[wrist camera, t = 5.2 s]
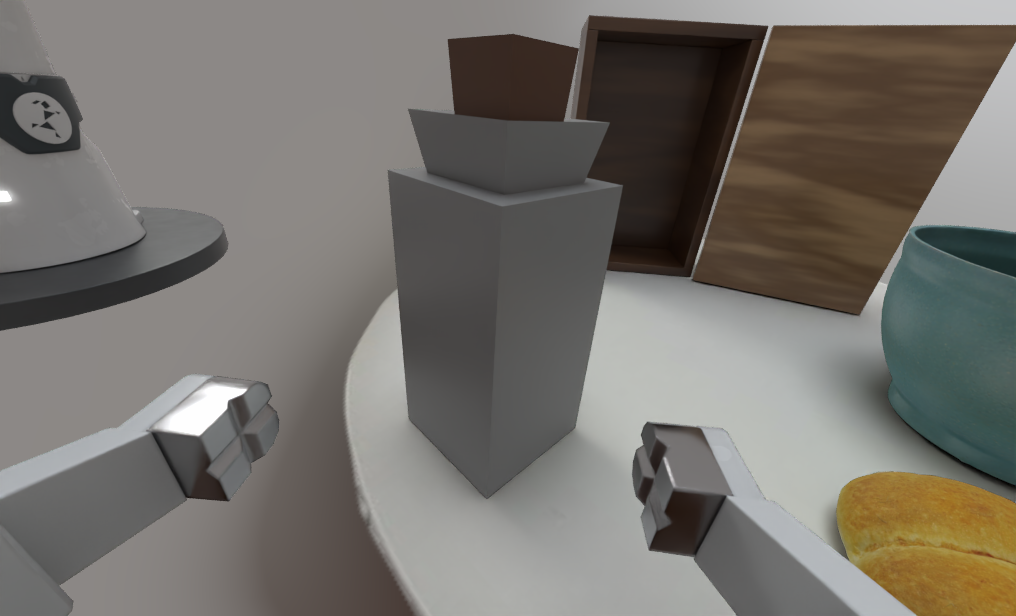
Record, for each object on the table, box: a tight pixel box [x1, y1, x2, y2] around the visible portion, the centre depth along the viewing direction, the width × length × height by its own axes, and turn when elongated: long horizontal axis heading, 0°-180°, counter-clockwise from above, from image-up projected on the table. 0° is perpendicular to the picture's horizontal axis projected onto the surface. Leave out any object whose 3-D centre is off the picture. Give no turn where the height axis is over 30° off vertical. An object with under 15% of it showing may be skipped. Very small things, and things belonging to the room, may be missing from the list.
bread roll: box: [836, 471, 1016, 616], centre depth 14 cm, size 8×9×4 cm
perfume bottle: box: [388, 34, 623, 499], centre depth 18 cm, size 7×7×18 cm
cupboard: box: [571, 15, 768, 277], centre depth 41 cm, size 7×15×23 cm, turn 85°
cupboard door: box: [693, 25, 1016, 314], centre depth 37 cm, size 6×15×23 cm, turn 66°
